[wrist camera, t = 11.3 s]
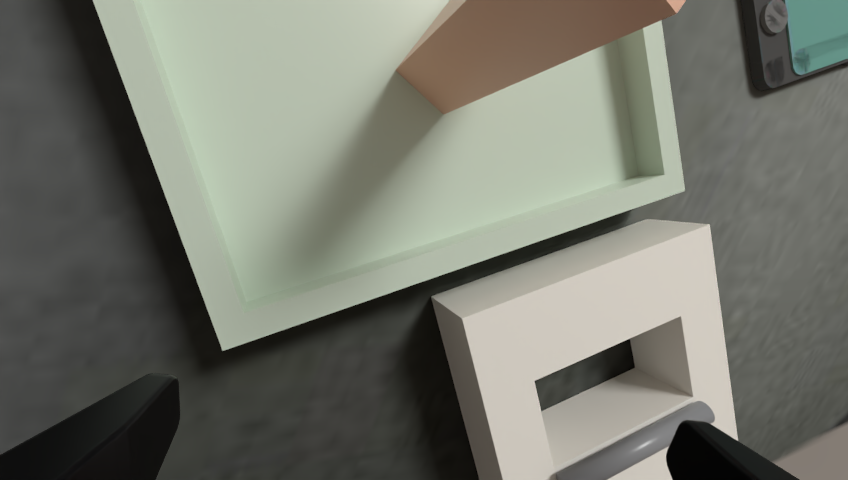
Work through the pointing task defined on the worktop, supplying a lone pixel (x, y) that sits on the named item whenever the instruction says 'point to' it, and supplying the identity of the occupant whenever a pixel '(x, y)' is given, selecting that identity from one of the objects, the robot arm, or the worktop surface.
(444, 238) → the tray
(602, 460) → the white slotted base
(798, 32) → the smartphone
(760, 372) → the worktop surface
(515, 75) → the salmon pink rectangular block
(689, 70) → the worktop surface
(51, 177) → the worktop surface
